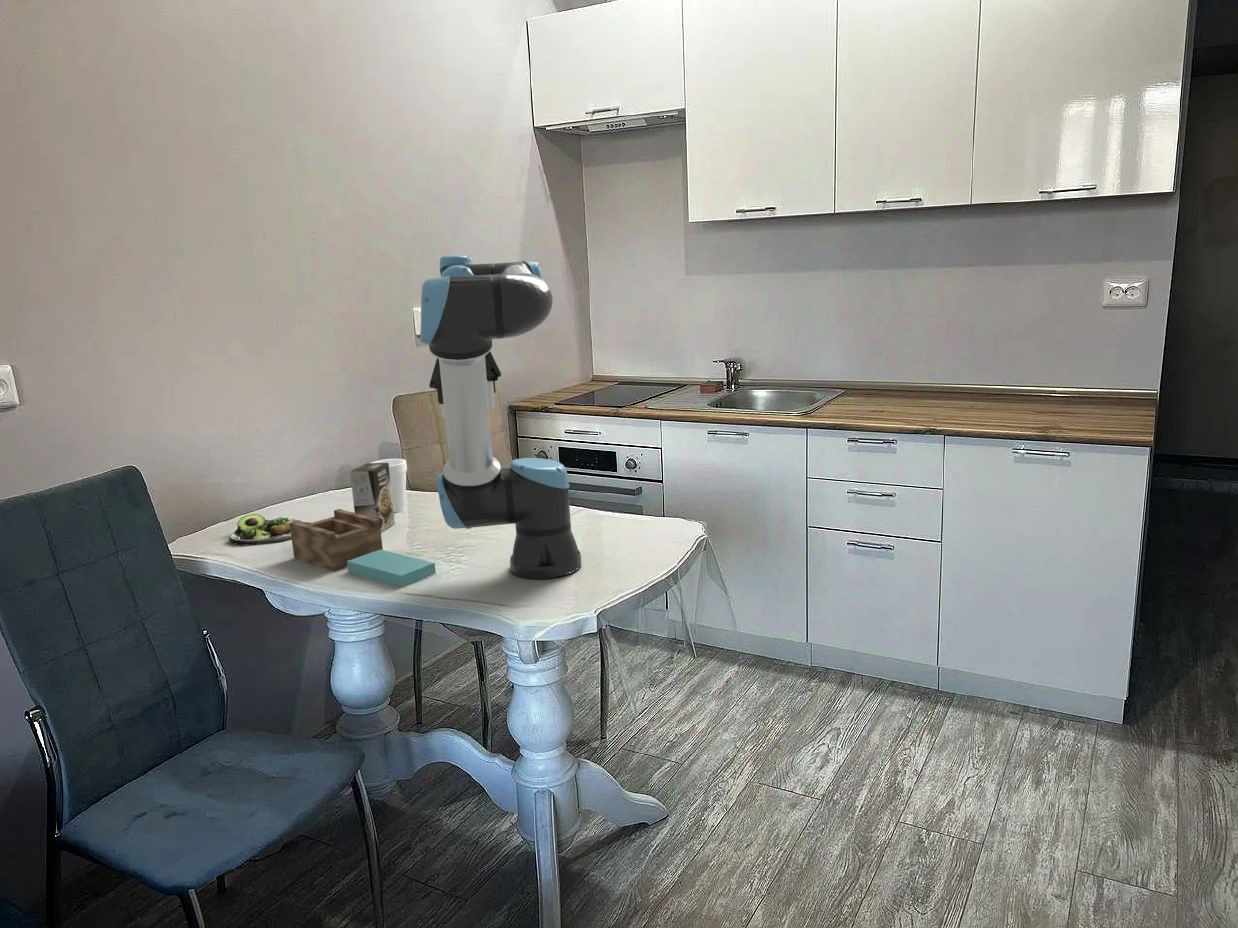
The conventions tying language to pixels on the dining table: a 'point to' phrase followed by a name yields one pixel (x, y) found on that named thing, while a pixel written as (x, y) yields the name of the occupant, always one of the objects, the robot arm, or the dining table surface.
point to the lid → (391, 568)
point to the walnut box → (336, 539)
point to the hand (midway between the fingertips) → (469, 412)
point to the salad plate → (261, 529)
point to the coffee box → (373, 493)
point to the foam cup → (397, 482)
